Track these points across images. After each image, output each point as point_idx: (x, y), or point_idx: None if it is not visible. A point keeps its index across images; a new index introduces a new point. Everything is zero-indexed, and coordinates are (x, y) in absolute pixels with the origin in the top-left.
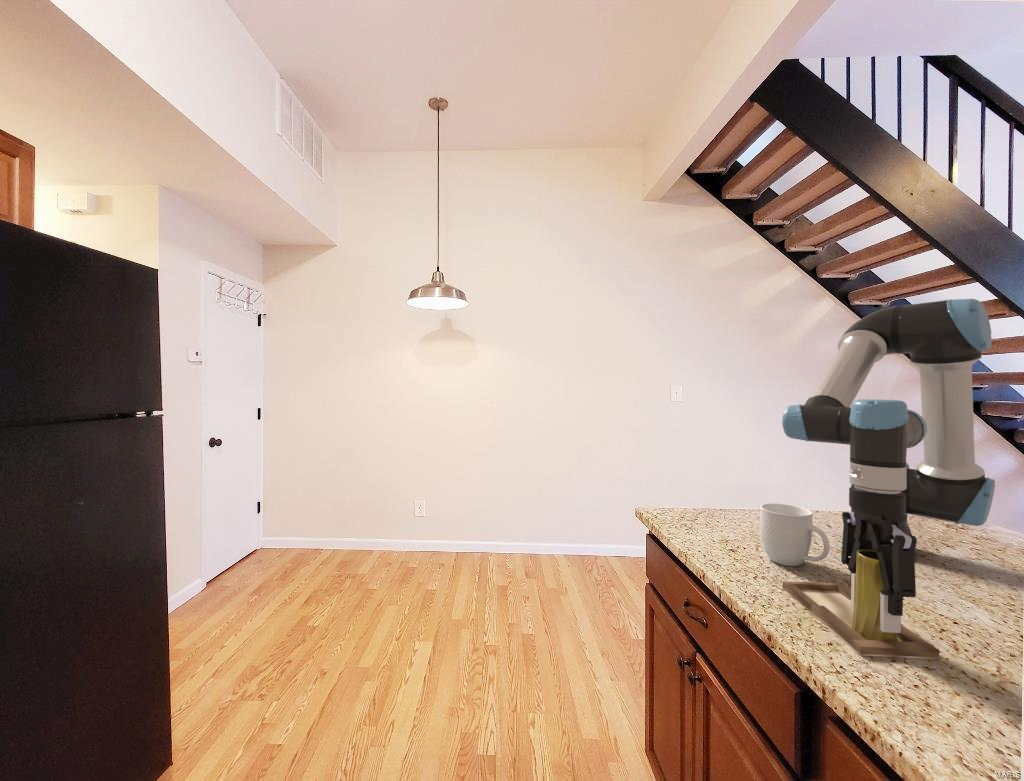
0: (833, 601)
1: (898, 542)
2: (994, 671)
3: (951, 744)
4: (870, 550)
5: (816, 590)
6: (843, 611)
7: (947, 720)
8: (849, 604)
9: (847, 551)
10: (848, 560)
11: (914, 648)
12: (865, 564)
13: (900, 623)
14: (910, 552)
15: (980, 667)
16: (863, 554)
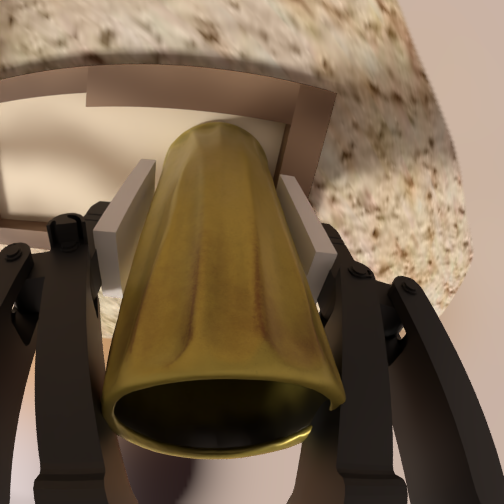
0: (36, 150)
1: None
2: (382, 16)
3: (439, 283)
4: (113, 411)
5: None
6: (86, 159)
7: (427, 256)
8: (47, 113)
9: (28, 361)
10: (39, 309)
11: (318, 155)
12: (245, 419)
13: (300, 189)
14: (485, 474)
15: (367, 27)
16: (123, 399)
